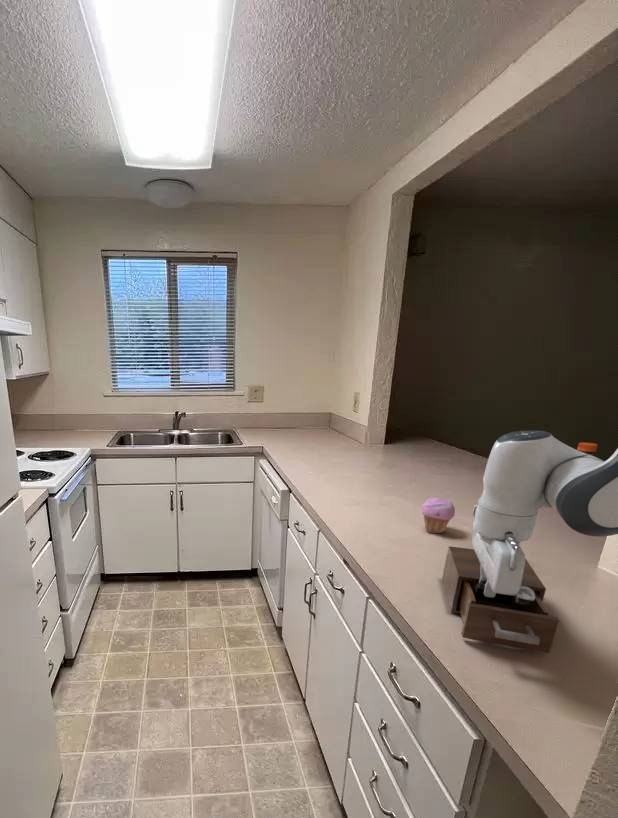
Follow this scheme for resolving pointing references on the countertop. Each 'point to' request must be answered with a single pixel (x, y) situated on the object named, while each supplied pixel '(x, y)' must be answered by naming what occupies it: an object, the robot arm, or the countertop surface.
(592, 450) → the bottle
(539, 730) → the countertop surface
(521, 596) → the scoop
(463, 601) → the drawer
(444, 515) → the cupcake
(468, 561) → the cabinet
